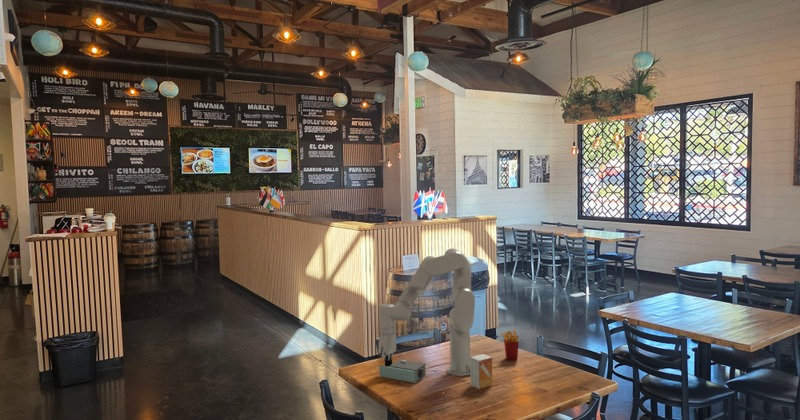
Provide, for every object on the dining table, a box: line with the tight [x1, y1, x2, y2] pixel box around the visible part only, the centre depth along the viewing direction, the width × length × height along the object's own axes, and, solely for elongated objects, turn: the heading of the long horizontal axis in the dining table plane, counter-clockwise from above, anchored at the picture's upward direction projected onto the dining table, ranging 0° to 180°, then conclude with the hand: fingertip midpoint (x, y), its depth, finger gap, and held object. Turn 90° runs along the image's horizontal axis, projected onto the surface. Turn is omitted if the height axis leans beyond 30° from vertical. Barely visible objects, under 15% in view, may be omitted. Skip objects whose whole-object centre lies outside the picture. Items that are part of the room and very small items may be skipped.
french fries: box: [501, 329, 520, 362], centre depth 271 cm, size 9×8×15 cm
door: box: [378, 364, 417, 384], centre depth 245 cm, size 19×1×5 cm, turn 61°
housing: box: [390, 358, 427, 384], centre depth 248 cm, size 15×10×7 cm, turn 61°
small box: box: [469, 353, 493, 390], centre depth 236 cm, size 8×6×13 cm
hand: (388, 367), depth 252 cm, fingers closed
